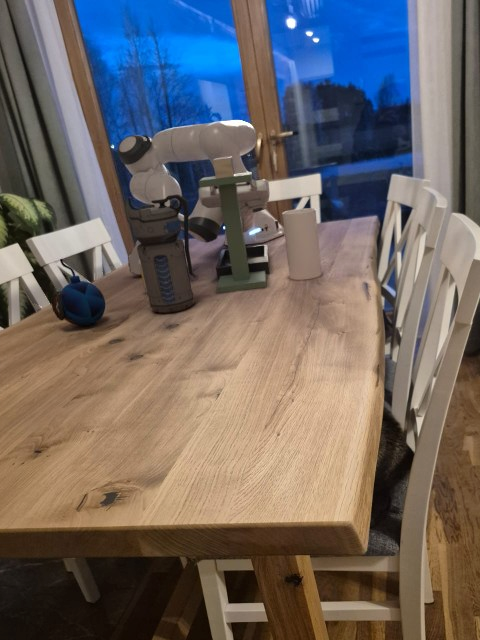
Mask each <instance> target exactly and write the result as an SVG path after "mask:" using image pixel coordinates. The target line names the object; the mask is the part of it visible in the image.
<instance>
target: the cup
mask: <svg viewBox="0 0 480 640" xmlns="http://www.w3.org/2000/svg"><path fill="white" fill-rule="evenodd" d="M316 211H317V210H316V208H312V207H306V208H305V207H304V208H296V209H295V208H294V209H289V210H285V211H283V212H281V215H282V223H283V224H282V225H283V233H284V240H285V248H286V256H287V264H288V265H287V266H288V272H289V279H290V280H294V281H295V280H296V281H303V280H310V279H315V278H318V277H321V276H322V274H323V273H322V261H321V253H320V243H319V232H318V231H319V230H318V221H317V212H316Z"/></svg>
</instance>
